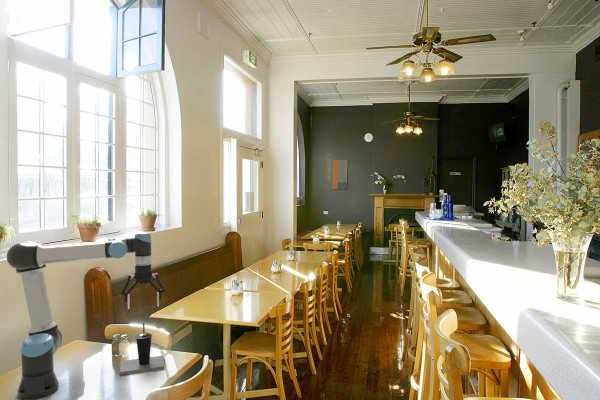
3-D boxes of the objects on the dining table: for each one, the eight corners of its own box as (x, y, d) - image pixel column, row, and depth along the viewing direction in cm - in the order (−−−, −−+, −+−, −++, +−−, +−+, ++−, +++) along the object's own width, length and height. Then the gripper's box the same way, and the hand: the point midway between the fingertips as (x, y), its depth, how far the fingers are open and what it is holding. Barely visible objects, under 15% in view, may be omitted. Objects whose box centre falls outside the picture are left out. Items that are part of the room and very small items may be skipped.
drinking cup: (148, 366, 207) (148, 325, 206) (133, 366, 207) (132, 325, 207) (154, 360, 214) (154, 320, 214) (139, 359, 215) (139, 320, 214)
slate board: (119, 375, 201) (119, 372, 201) (121, 363, 214) (121, 360, 214) (164, 369, 207) (164, 366, 207) (163, 358, 220) (163, 355, 220)
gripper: (114, 267, 202) (115, 311, 202) (169, 264, 210) (170, 307, 210) (116, 264, 209) (116, 307, 209) (169, 261, 217) (169, 303, 217)
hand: (143, 307), depth 210 cm, fingers open, 13 cm apart
